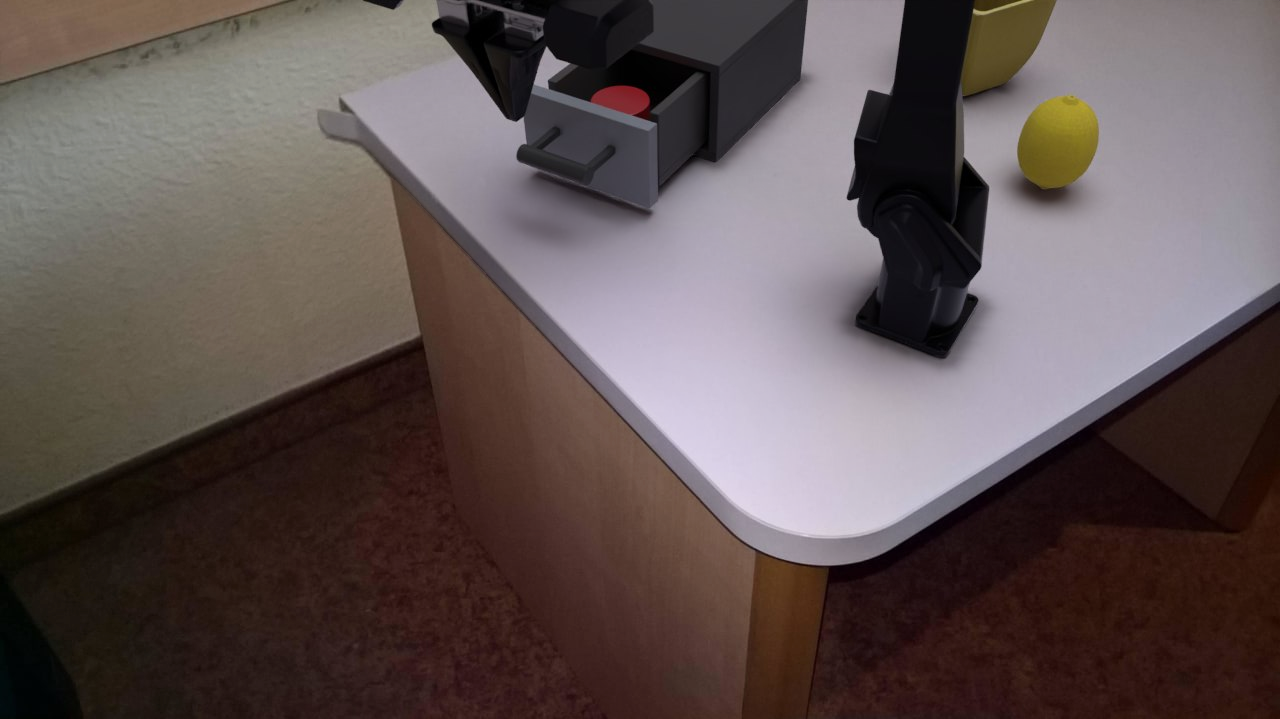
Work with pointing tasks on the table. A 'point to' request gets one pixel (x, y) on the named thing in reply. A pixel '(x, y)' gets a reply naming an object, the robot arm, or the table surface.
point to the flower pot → (1002, 40)
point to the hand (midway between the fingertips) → (515, 117)
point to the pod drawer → (618, 126)
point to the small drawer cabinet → (732, 56)
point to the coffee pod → (624, 100)
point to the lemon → (1058, 142)
